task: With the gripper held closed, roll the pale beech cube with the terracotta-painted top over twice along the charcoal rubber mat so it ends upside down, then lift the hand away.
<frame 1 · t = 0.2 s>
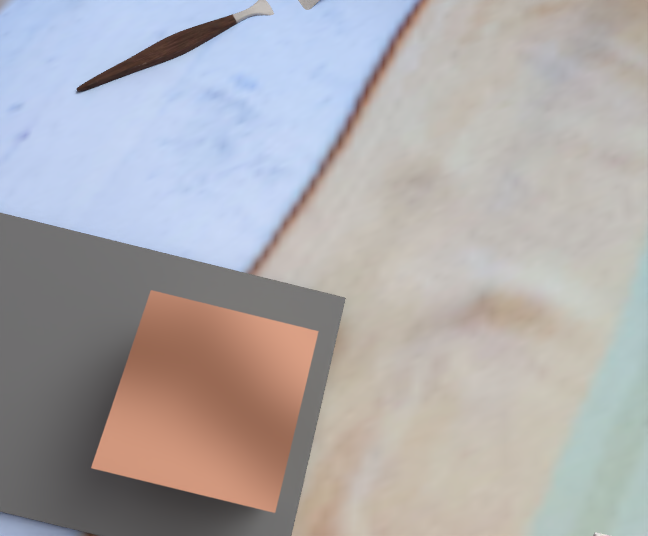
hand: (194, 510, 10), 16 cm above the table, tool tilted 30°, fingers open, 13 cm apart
cube: (225, 406, 25), point 1 cm above the table, touching mat
mat: (94, 375, 25), on the table
fork: (217, 35, 32), on the table
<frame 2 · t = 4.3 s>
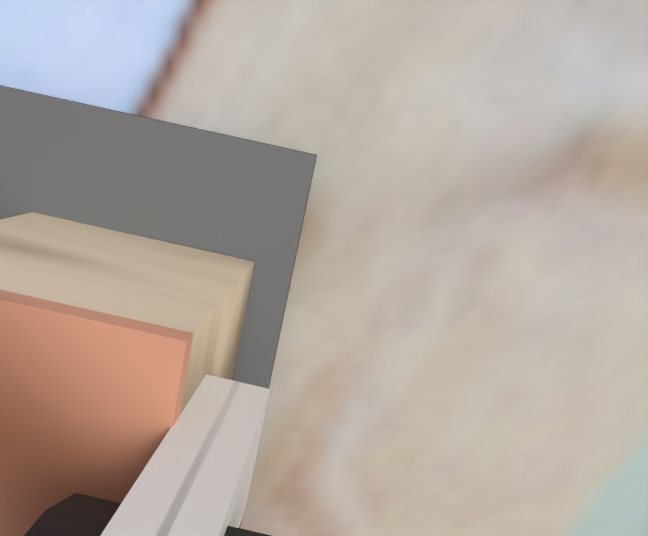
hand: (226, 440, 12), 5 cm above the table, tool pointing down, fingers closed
cube: (128, 342, 16), point 1 cm above the table, touching gripper, mat
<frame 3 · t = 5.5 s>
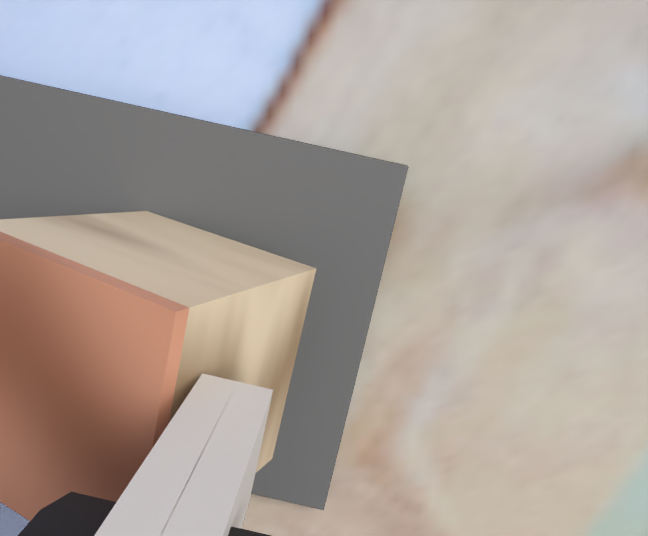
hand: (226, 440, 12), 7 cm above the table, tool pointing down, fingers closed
cube: (208, 332, 18), point 2 cm above the table, tilted 21°, touching gripper, mat
mat: (70, 278, 19), on the table
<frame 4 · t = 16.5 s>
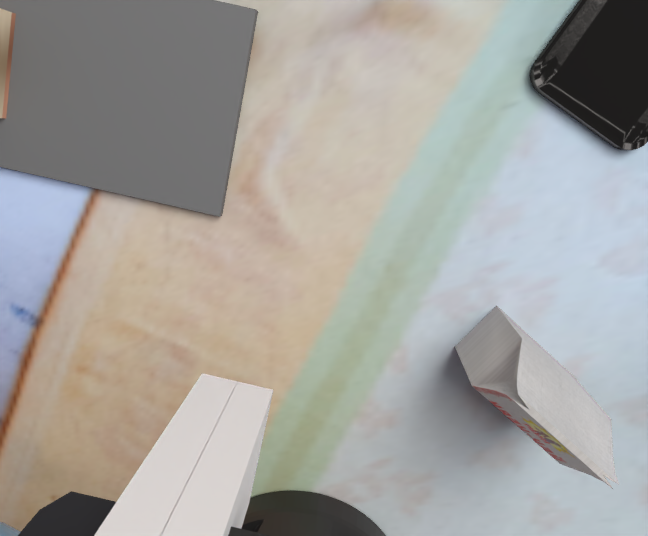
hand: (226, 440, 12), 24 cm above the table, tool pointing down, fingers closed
mat: (76, 81, 34), on the table
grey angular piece: (512, 359, 37), on the table
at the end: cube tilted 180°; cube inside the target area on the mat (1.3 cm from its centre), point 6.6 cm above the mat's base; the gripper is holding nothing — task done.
